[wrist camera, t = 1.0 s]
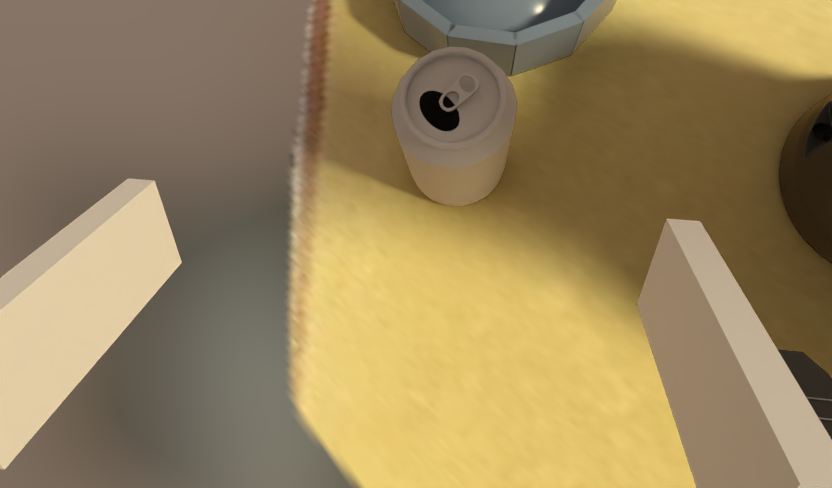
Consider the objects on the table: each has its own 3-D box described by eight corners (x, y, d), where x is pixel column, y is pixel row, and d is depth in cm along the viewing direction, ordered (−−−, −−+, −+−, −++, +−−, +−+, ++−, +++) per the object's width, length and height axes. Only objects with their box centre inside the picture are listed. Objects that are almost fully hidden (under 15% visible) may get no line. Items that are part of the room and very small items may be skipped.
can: (391, 158, 41) (360, 89, 29) (463, 101, 41) (461, 9, 29) (450, 228, 39) (442, 185, 28) (524, 168, 39) (548, 100, 28)
